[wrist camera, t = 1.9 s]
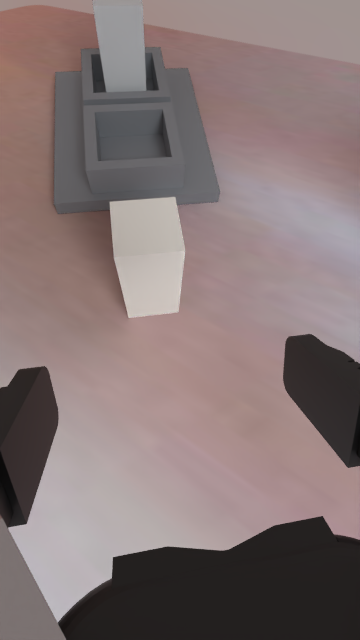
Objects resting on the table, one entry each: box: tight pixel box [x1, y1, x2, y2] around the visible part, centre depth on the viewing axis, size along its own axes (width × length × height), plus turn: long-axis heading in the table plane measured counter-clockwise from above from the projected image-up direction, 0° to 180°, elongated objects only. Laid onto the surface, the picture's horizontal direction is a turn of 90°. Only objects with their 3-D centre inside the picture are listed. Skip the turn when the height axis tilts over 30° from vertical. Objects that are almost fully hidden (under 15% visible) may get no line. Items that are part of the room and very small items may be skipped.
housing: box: [54, 0, 220, 214], centre depth 34 cm, size 18×23×12 cm
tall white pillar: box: [110, 197, 185, 318], centre depth 26 cm, size 5×5×10 cm
